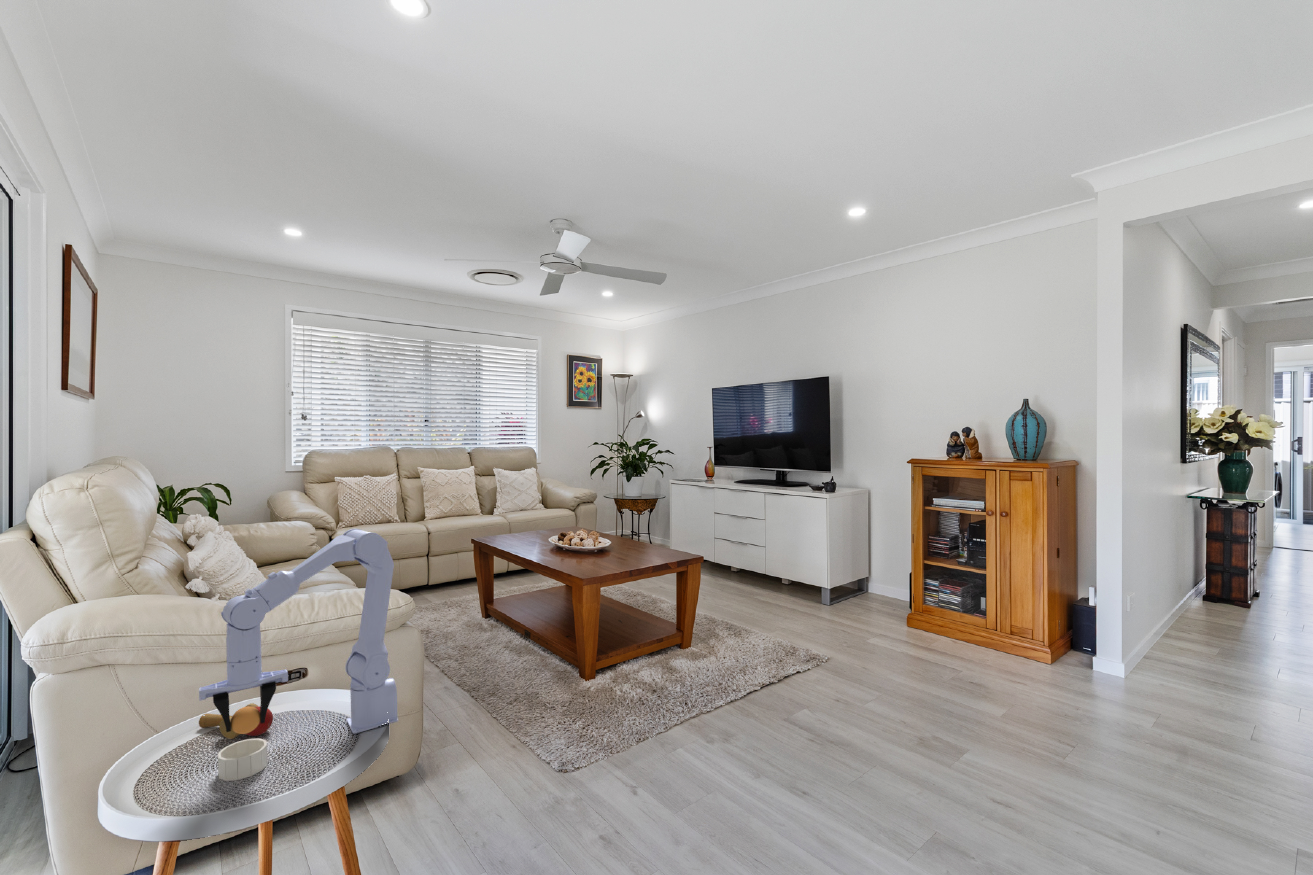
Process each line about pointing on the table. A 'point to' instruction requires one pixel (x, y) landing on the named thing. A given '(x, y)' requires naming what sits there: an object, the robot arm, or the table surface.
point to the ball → (245, 720)
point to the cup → (242, 759)
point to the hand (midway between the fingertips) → (245, 725)
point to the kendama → (217, 720)
